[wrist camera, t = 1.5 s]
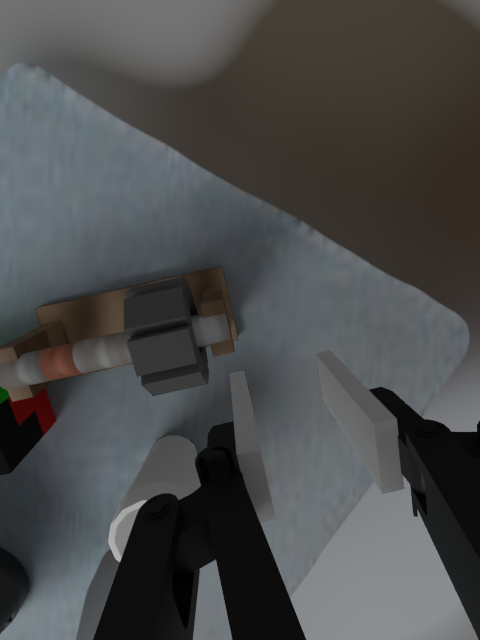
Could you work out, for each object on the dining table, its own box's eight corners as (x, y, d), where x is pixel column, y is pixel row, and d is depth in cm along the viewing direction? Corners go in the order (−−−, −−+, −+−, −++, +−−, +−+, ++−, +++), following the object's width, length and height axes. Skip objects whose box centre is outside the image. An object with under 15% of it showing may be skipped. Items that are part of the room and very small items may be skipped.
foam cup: (144, 419, 44) (115, 492, 31) (213, 429, 45) (212, 504, 32) (135, 480, 46) (104, 572, 34) (201, 488, 47) (195, 580, 35)
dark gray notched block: (166, 368, 38) (149, 413, 28) (141, 282, 35) (112, 300, 26) (209, 358, 38) (206, 400, 28) (187, 272, 36) (176, 286, 26)
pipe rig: (65, 375, 42) (10, 425, 31) (39, 306, 40) (-30, 334, 28) (237, 336, 42) (244, 373, 31) (221, 266, 40) (223, 277, 29)
